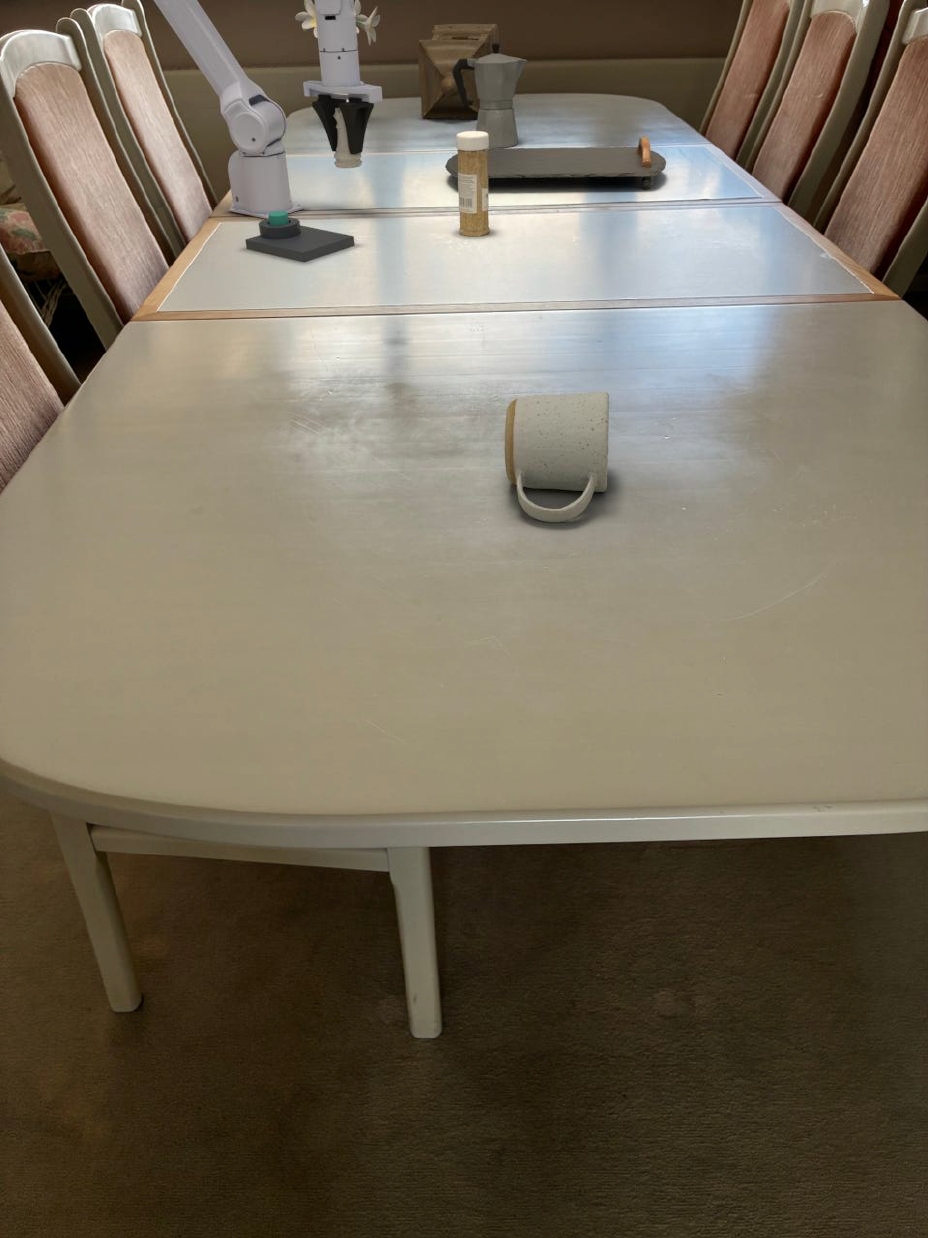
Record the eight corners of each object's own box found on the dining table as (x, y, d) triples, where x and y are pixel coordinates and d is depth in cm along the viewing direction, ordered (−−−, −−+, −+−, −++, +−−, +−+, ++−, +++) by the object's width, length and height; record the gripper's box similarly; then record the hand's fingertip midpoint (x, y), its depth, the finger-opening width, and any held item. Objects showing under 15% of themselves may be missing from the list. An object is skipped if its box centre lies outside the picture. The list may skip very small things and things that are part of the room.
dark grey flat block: (242, 248, 138) (239, 226, 136) (293, 233, 144) (291, 211, 143) (304, 262, 132) (301, 240, 130) (354, 246, 138) (352, 224, 136)
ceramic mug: (510, 460, 82) (510, 375, 77) (607, 463, 81) (613, 377, 76) (499, 525, 74) (499, 434, 69) (607, 529, 73) (613, 437, 68)
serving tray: (440, 193, 163) (439, 153, 159) (451, 165, 181) (450, 129, 178) (671, 191, 160) (675, 150, 156) (658, 162, 178) (661, 125, 175)
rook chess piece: (367, 163, 151) (362, 106, 146) (355, 169, 147) (351, 110, 142) (341, 162, 152) (336, 105, 147) (329, 168, 148) (323, 110, 144)
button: (265, 225, 138) (264, 213, 137) (280, 221, 140) (278, 209, 139) (278, 228, 137) (277, 216, 136) (293, 223, 138) (291, 212, 138)
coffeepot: (521, 137, 202) (522, 38, 192) (533, 145, 195) (535, 42, 184) (449, 142, 200) (446, 42, 189) (459, 151, 192) (456, 47, 182)
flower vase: (384, 128, 215) (375, -4, 200) (302, 131, 215) (287, -2, 201) (388, 119, 226) (380, -8, 211) (310, 121, 226) (297, -6, 211)
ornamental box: (481, 138, 217) (491, 44, 205) (404, 127, 218) (410, 33, 206) (497, 108, 244) (506, 24, 233) (428, 99, 245) (435, 14, 233)
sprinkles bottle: (495, 233, 141) (495, 132, 133) (469, 238, 139) (467, 136, 131) (478, 227, 144) (476, 128, 136) (452, 232, 142) (449, 132, 134)
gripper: (393, 49, 139) (399, 151, 147) (322, 45, 146) (332, 142, 154) (360, 54, 135) (368, 159, 143) (288, 49, 142) (300, 150, 150)
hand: (347, 151), depth 148 cm, fingers closed on rook chess piece, 3 cm apart
